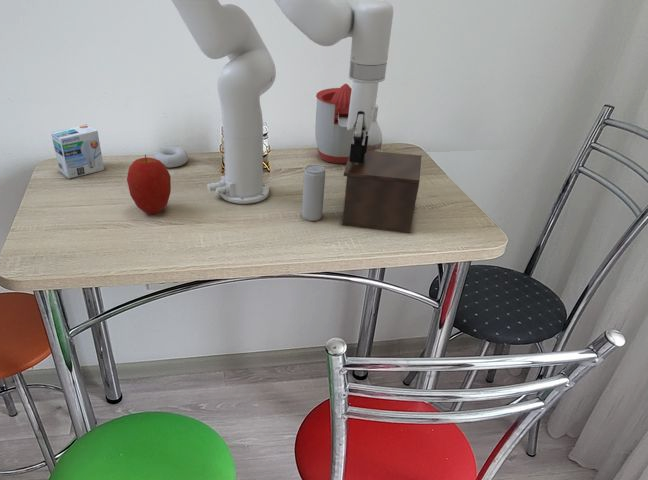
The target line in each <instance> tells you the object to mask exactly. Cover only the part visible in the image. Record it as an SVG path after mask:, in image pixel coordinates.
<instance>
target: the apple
mask: <svg viewBox="0 0 648 480" xmlns="http://www.w3.org/2000/svg"><path fill="white" fill-rule="evenodd" d="M171 177H172V176H171V175H170V172H169V169H168V167H166V166H165V165H164V164H163V163H162V162H160V161H159V160H157V159H154V158H153V157H147V154H146V153H145V154H144V157H140V158H137V159H135V160H134V161H132V163H131V164H130V165H129V167H128V171H127V175H126V182H127V183H126V184H127V187H128V192H129V195H130V197H131V199H132V200H133V202H134V204H135V205H136V207H137V208H138V209H139V210H140V211H143V212H144V213H146V214H147V215H156V214H158V213H160V212H161V211H162V210H163V209H165V208H166V207H167V206H168V202H169V199H170V196H171V191H172V184H171V182H172V181H171Z"/></svg>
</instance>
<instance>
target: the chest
mask: <svg viewBox="0 0 648 480" xmlns="http://www.w3.org/2000/svg"><path fill="white" fill-rule="evenodd" d="M345 182H346V183H345V194H344V201H343V202H344V205H343V212H342V213H343V214H342V224H341V225H342V226H344V227H355V228H364V229H371V230H379V231H389V232H397V233H405V234H411V230H412V225H413V224H412V223H413V220H414V219H413V218H414V214H415V208H416V203H417V202H416V201H417V197H418V193H419V188H420V182H419V183H409V182H399V181H389V180H379V179H369V178H359V177H349V176H346V181H345Z"/></svg>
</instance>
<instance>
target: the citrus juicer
mask: <svg viewBox="0 0 648 480" xmlns="http://www.w3.org/2000/svg"><path fill="white" fill-rule="evenodd" d="M351 90H352V87H351V86H350V85H349V84H348V83H343V85H341V86H340V87H331V88H325V89H322V90H320V91H318V92H317V93H316V96H315V97H316V105H315V106H316V108H315V122H314V123H315V125H314V135H315V136H314V137H315V144H316V148H317V152H318V155H319V157H320V159H322V160H324V161H325V162H327V163H333V164H347V162H348V159H349V156H350V149H351V143H352V138H353V130H354V127H353V128H352V130H351V129H350V131H348V130H347V123H348V115H349V106H350V97H351Z"/></svg>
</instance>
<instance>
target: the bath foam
mask: <svg viewBox="0 0 648 480" xmlns="http://www.w3.org/2000/svg"><path fill="white" fill-rule="evenodd" d="M378 112H379V105H378V104H377V103H376V105H375V110H374V115H373V119H372V123H371V126H370V129H369V131H368V135H367V136H368V144H367V151H378V152H382V143H383V134H382V130H381V126H380V124H379V122H378V121H377V118H378Z"/></svg>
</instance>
